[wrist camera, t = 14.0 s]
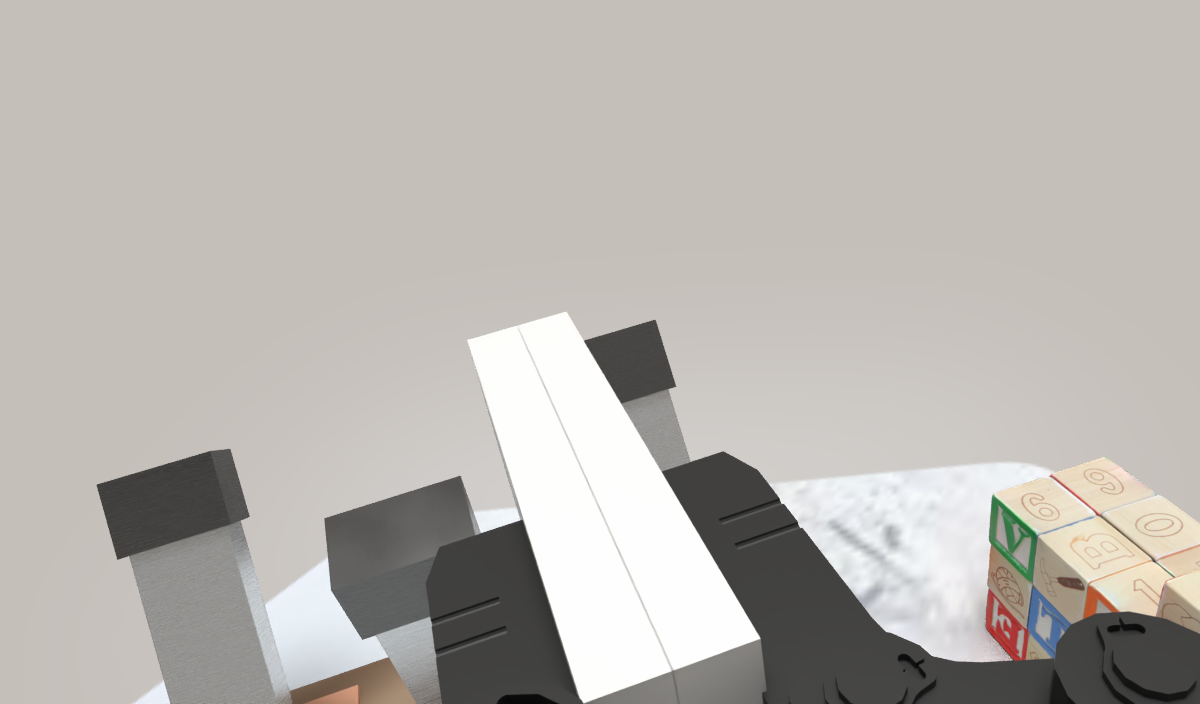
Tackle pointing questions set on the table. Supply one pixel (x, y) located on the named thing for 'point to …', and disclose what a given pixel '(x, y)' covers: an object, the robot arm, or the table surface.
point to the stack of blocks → (1086, 556)
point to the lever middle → (397, 572)
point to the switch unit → (358, 687)
